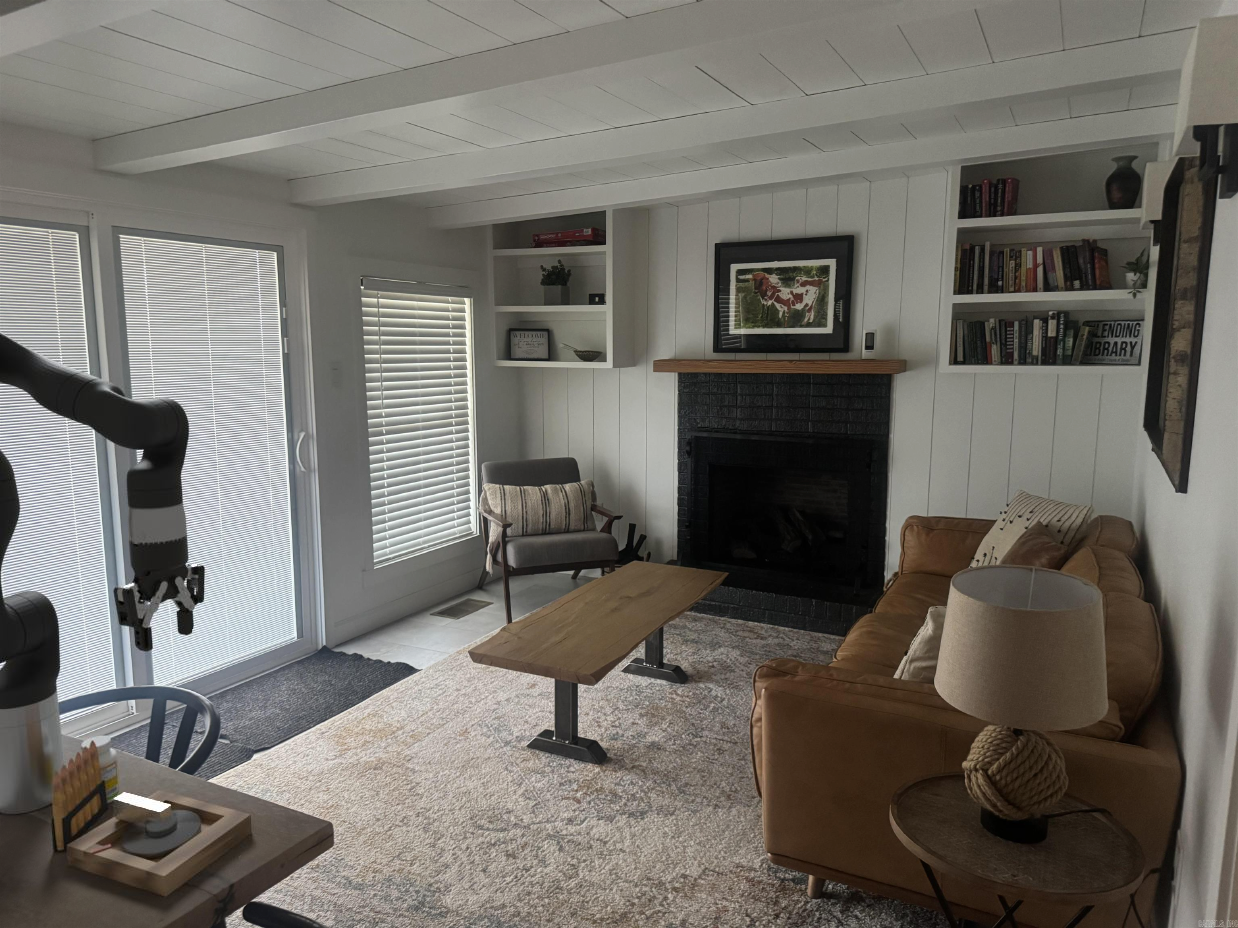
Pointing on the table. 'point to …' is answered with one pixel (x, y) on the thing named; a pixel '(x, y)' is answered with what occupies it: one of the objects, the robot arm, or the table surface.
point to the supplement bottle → (106, 764)
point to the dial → (154, 826)
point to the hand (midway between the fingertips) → (165, 641)
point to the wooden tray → (165, 873)
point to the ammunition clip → (77, 798)
